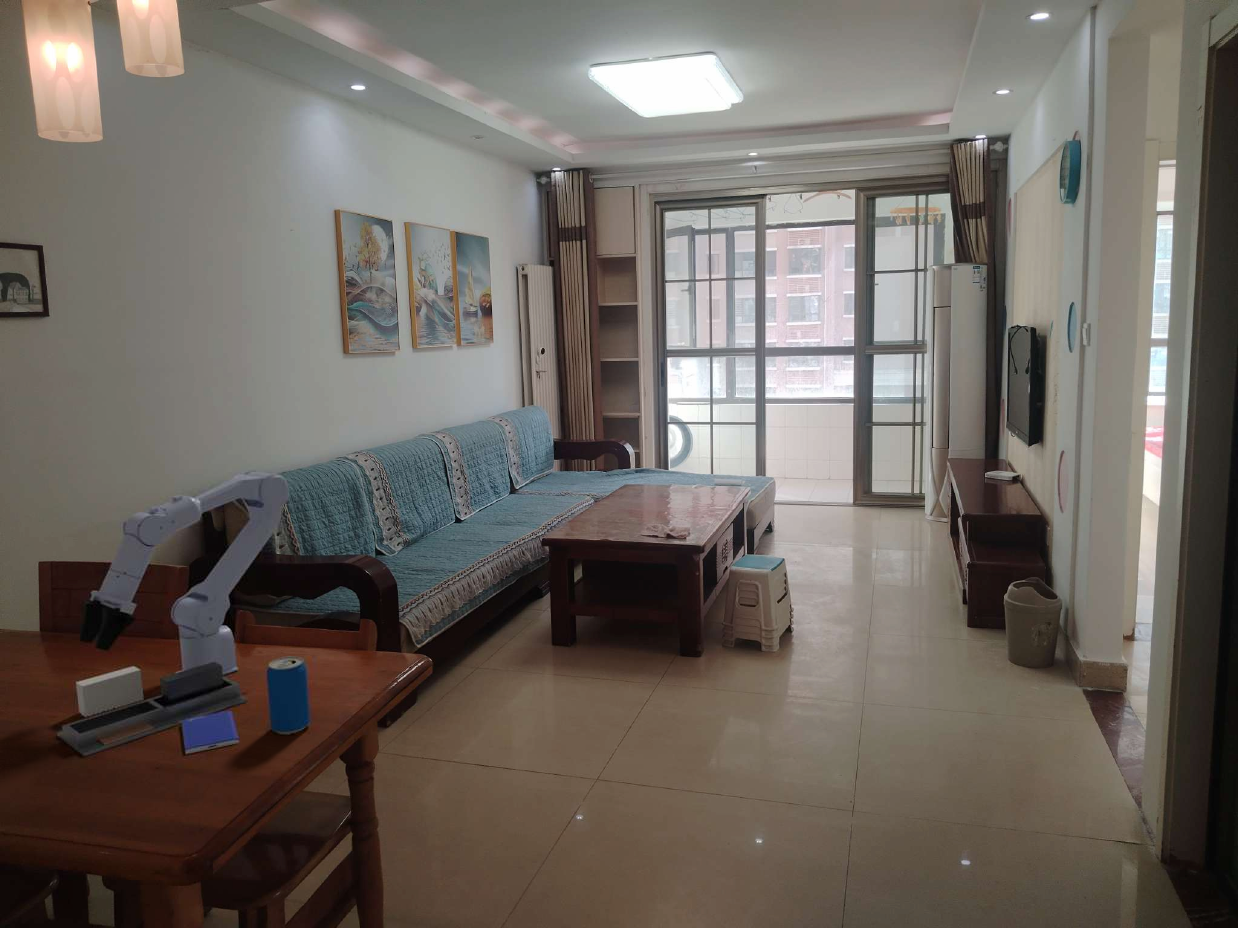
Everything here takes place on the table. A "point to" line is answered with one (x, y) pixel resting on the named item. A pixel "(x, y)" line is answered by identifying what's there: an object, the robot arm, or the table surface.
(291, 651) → the table surface
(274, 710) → the beverage can
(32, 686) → the table surface
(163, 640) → the table surface
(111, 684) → the panel
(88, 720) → the drive rack
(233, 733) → the hard drive
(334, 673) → the table surface
